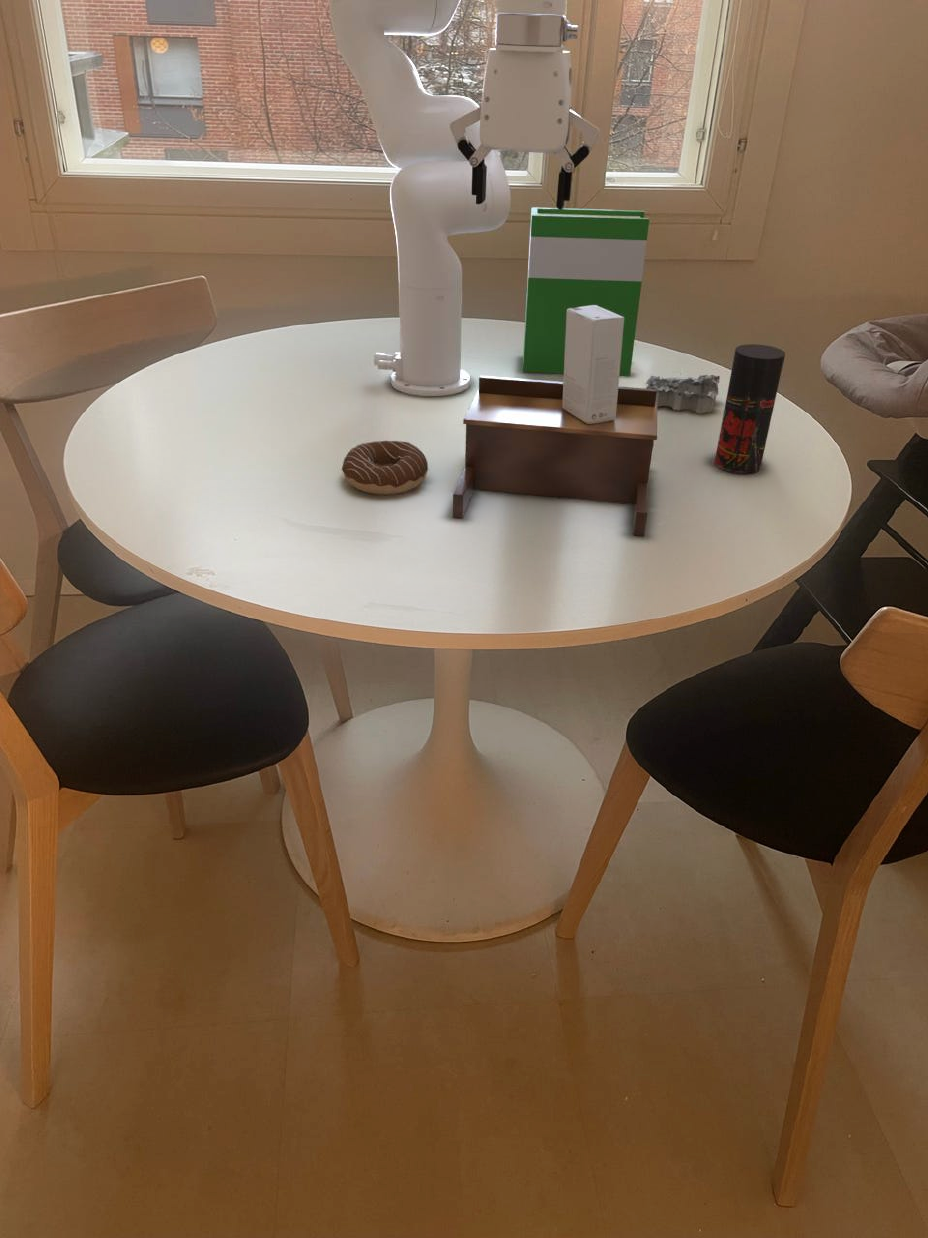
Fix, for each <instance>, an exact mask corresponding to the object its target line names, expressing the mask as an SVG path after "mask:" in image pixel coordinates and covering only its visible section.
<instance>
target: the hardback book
mask: <svg viewBox="0 0 928 1238" xmlns="http://www.w3.org/2000/svg"><path fill="white" fill-rule="evenodd" d="M530 209H531V210H530V211H531V212H530V227H529V228H530V229H529V244H528V245H529V246H528V261H527V263H528V265H527V267H528V268H527V279H526V280H527V283H526V298H525V299H526V300H525V301H526V302H525V316H524V317H525V319H524V334H523V335H524V337H523V353H522V373H534V374H535V373H536V374H563V375H564V359H565V337H566V316H567V309H569V308H576V307H583V306H590V305H597V306H599V307H601V308H604V309H606V310H608V311H611V312H613V313H615V314H618V315H620V316H622V317H624V326H623V338H622V350H621V361H620V373H619V377H631V372H632V363H633V355H634V354H633V353H634V347H635V339H636V332H637V325H638V324H637V323H638V315H639V308H640V307H639V306H640V299H641V292H642V283H643V275H644V267H645V259H646V258H645V257H646V249H647V241H648V233H649V225H650V217H645V213H646V211H645V210H632V209H631V210H630V209H627V210H626V209H599V208H597V209H596V208H569V207H568V208H567V207H566V208H565V207H563V209H558V208H556V207H538V206H537V207H536V206H535V207H531V208H530Z"/></svg>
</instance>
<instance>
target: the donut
mask: <svg viewBox="0 0 928 1238" xmlns="http://www.w3.org/2000/svg"><path fill="white" fill-rule="evenodd" d="M341 471H342V472H343V475H344V478H345V480H346V481H347V482H348V483H349V484H350V485H351V486H352V487H353V488H355V489H357V490H359V491H361V492H364V493H368V494H372V495H373V494H374V495H396V494H401V493H406V492H408V491H410V490H412V489H414V488H416V487H418V486H419V485H420V484H421V483H422V482H423V481H424V480H425V478H426V476H427V473H428V471H429V464H428V460H427V457H426V456H425V454H424V452H423V451H422V450H421V448H419V447H417V446H416V445H415V444H412V443H411V442H408V441H401V440H380V441H378V440H377V441H371V442H365V443H360V444H357V445H356V446H354V447H352V448H351V449H350V450H349V451H348V452H347V454H346V456H345V457H344V459H343V462H342V468H341Z"/></svg>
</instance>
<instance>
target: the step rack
mask: <svg viewBox="0 0 928 1238" xmlns="http://www.w3.org/2000/svg"><path fill="white" fill-rule="evenodd" d="M656 395H657V389H647V387H633V386H621V385H620V386H619V385H618V397H617V408H616V418H615V420H612V421H607V422H601V423H595V424H587V423H585V422H584V421H582V420H580V419H579V418H577V417H576V416H574V415H572V414H571V413H569V412H567V411H566V410H564V409H563V408H562V401H563V381H553V380H541V379H528V378H517V377H516V378H515V377H503V376H501V377H500V376H491V375H490V376H489V375H480V376H479V377H478V390H477V391H476V393H475V395H474V397H473V399H472V400H471V403H470V405H469V407H468V409H467V411H466V413H465V415H464V417H463V420H462V425H465V448H464V450H465V452H464V454H465V455H464V456H465V457H464V459H465V460H464V468H463V470H462V473H461V474H460V477H459V479H458V481H457V484H456V487H455V489H454V491H453V493H452V518H456V519H463V518H464V516H465V513H466V510H467V509H468V506H469V504H470V501H471V499H472V495H473V494H474V493H473V492H474V490H477V491H487V492H488V491H489V492H498V493H508V494H519V495H529V496H530V495H531V496H540V497H541V496H542V497H550V498H551V497H552V498H562V499H574V500H582V501H583V500H584V501H594V502H595V501H596V502H603V503H604V502H605V503H617V504H625V505H626V504H627V505H634V511H633V533H632V535H633V536H639V537H644V536H645V532H646V526H647V519H648V505H649V504H648V503H649V501H648V499H649V498H648V497H649V496H648V495H649V493H648V492H649V478H650V471H651V465H652V463H651V462H652V456H653V449H654V442H655V441H657V440H658V407H657V405H656V404H655V402H656Z"/></svg>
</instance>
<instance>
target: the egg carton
mask: <svg viewBox="0 0 928 1238" xmlns="http://www.w3.org/2000/svg"><path fill="white" fill-rule="evenodd" d="M720 380H721V379H720V375H714V374H710V375H709V374H703V375H699V376H698V377H697V378H694V377H692V376H691V377H690V376H689V377H688V378H679V377H661V378H660V376H656V375H651V376H650V377H649V378H648V379H647V381H646V382H645V384H646V385H647V386H646V388H647V389H657V395H656V402H655V404H656V405H657V408H658V407H663V406H665V407H670V408H672V410H674V411H681V410H692V411H694V412H695V413H696V414H704V413H711V412H712V411H713V409H714V405H715V404H716V400H717V396H718V395H719V384H720V382H721V381H720Z"/></svg>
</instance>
